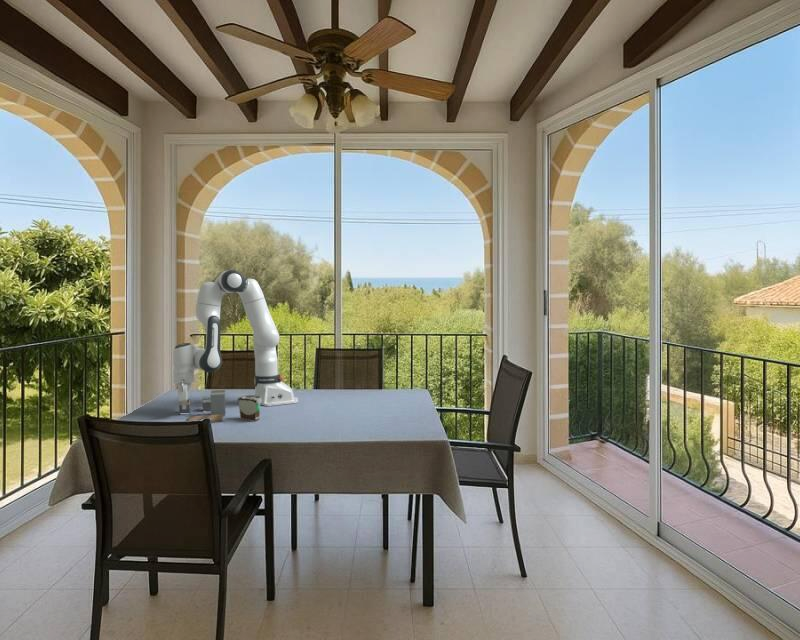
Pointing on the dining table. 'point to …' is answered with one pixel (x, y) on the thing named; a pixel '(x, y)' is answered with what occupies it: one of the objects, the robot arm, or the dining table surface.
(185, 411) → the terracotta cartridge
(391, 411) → the dining table surface
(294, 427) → the dining table surface
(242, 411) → the food container
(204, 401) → the grey cartridge
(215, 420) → the pad
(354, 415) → the dining table surface
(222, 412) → the grey upright block
